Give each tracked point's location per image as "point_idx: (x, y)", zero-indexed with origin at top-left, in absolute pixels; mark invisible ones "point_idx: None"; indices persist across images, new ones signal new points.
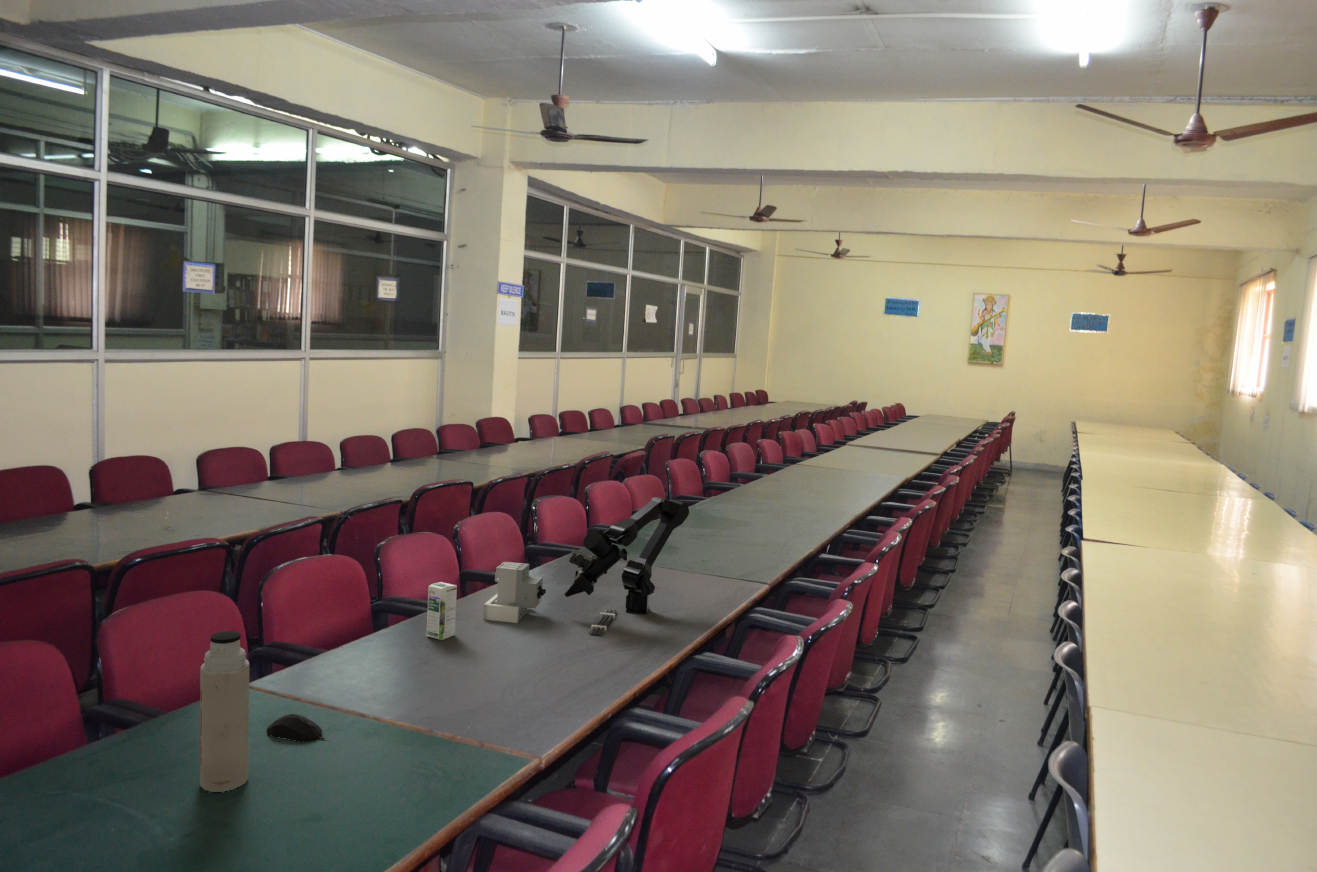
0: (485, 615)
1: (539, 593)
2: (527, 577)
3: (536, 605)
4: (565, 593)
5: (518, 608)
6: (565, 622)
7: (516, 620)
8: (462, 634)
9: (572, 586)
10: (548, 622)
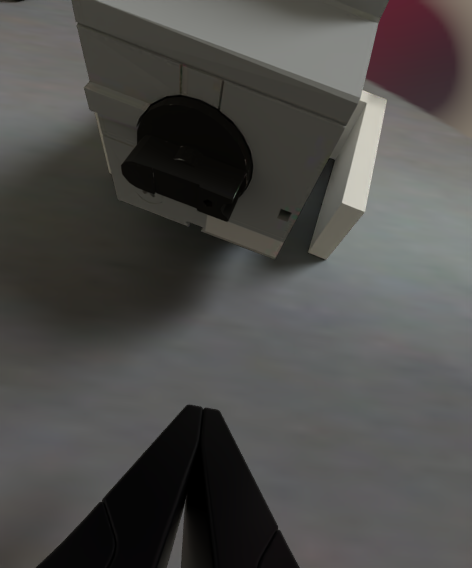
0: None
1: (135, 146)
2: (324, 3)
3: (148, 205)
4: (179, 414)
5: None
6: (54, 425)
7: (107, 162)
8: (16, 17)
9: (68, 550)
10: (82, 313)
